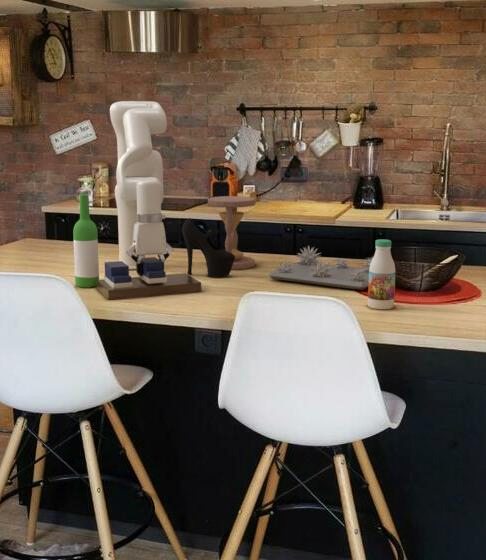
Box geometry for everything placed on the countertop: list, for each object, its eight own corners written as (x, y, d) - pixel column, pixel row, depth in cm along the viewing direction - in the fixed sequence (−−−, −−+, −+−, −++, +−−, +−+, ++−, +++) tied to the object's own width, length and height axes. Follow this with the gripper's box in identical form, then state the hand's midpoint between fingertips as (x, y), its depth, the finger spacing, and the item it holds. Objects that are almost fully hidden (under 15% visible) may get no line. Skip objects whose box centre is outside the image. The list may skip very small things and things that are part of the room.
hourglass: (245, 271, 284) (246, 202, 278) (200, 268, 289) (200, 200, 284) (260, 262, 300) (261, 197, 295) (218, 259, 305) (217, 195, 300)
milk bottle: (364, 303, 237) (367, 238, 233) (390, 303, 238) (393, 238, 234) (370, 310, 230) (373, 242, 226) (396, 309, 230) (400, 242, 226)
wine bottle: (78, 282, 263) (74, 193, 257) (101, 283, 263) (98, 193, 257) (72, 288, 256) (68, 195, 249) (96, 288, 255) (93, 196, 249)
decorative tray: (267, 280, 268) (267, 252, 266) (299, 268, 290) (300, 241, 288) (364, 292, 251) (365, 262, 249) (390, 278, 274) (392, 250, 271)
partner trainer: (104, 280, 253) (103, 262, 252) (122, 278, 256) (121, 260, 254) (113, 288, 242) (112, 269, 240) (132, 287, 244) (132, 268, 243)
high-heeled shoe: (232, 279, 271) (233, 221, 267) (179, 276, 275) (179, 219, 270) (237, 274, 279) (238, 218, 274) (186, 271, 282) (185, 216, 278)
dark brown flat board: (97, 288, 255) (96, 279, 254) (185, 281, 266) (185, 273, 265) (108, 299, 240) (108, 290, 240) (201, 291, 252) (201, 282, 251)
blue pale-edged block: (137, 275, 257) (137, 257, 256) (155, 274, 260) (154, 256, 258) (148, 283, 246) (147, 264, 244) (166, 282, 248) (166, 263, 247)
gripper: (171, 216, 257) (172, 270, 260) (119, 218, 250) (121, 274, 254) (178, 219, 250) (179, 274, 254) (125, 221, 243) (127, 278, 247)
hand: (150, 273), depth 254 cm, fingers closed on blue pale-edged block, 6 cm apart
